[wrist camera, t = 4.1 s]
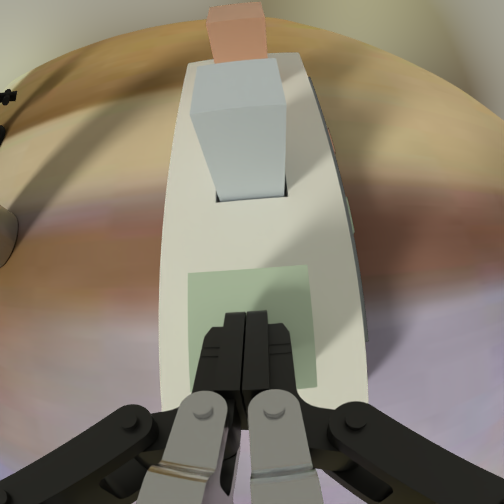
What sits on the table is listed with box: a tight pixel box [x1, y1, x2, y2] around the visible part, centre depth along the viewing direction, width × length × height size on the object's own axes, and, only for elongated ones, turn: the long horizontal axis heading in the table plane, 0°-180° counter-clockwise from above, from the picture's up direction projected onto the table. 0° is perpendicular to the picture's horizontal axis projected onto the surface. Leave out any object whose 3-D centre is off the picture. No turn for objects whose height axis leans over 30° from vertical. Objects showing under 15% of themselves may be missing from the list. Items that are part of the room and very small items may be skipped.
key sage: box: [188, 265, 317, 392], centre depth 16 cm, size 5×5×10 cm
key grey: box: [190, 58, 286, 202], centre depth 19 cm, size 5×5×10 cm
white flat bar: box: [159, 53, 368, 412], centre depth 25 cm, size 38×15×6 cm, turn 3°
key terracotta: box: [206, 2, 268, 64], centre depth 23 cm, size 5×5×10 cm
